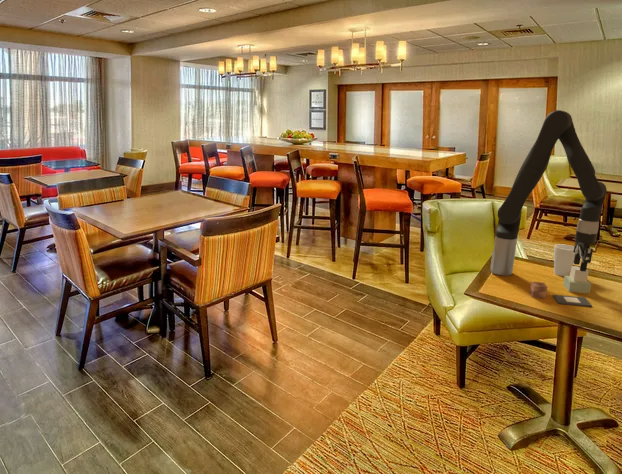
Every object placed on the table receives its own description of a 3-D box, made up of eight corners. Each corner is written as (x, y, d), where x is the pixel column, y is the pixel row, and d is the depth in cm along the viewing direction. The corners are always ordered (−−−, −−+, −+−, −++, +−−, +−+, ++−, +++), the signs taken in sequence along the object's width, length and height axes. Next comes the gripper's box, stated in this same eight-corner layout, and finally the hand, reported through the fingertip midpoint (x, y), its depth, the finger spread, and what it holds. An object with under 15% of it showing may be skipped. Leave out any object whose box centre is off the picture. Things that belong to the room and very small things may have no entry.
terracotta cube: (532, 297, 188) (534, 286, 187) (529, 292, 193) (531, 281, 191) (545, 298, 187) (547, 287, 185) (542, 294, 192) (544, 282, 190)
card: (558, 303, 182) (558, 302, 182) (552, 295, 189) (552, 294, 189) (591, 306, 179) (592, 305, 179) (584, 298, 187) (585, 297, 187)
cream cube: (573, 281, 194) (575, 269, 193) (569, 276, 199) (571, 265, 198) (586, 282, 193) (588, 270, 192) (582, 277, 198) (584, 266, 197)
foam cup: (577, 277, 210) (581, 250, 206) (556, 277, 210) (560, 250, 206) (566, 270, 219) (570, 244, 215) (546, 270, 219) (550, 243, 215)
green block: (568, 292, 194) (570, 282, 193) (563, 285, 202) (564, 275, 201) (589, 293, 193) (591, 283, 191) (583, 286, 200) (584, 277, 199)
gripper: (571, 225, 197) (564, 261, 202) (582, 234, 184) (574, 272, 189) (591, 226, 196) (583, 262, 200) (603, 236, 182) (595, 274, 187)
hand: (579, 267), depth 195 cm, fingers open, 8 cm apart
